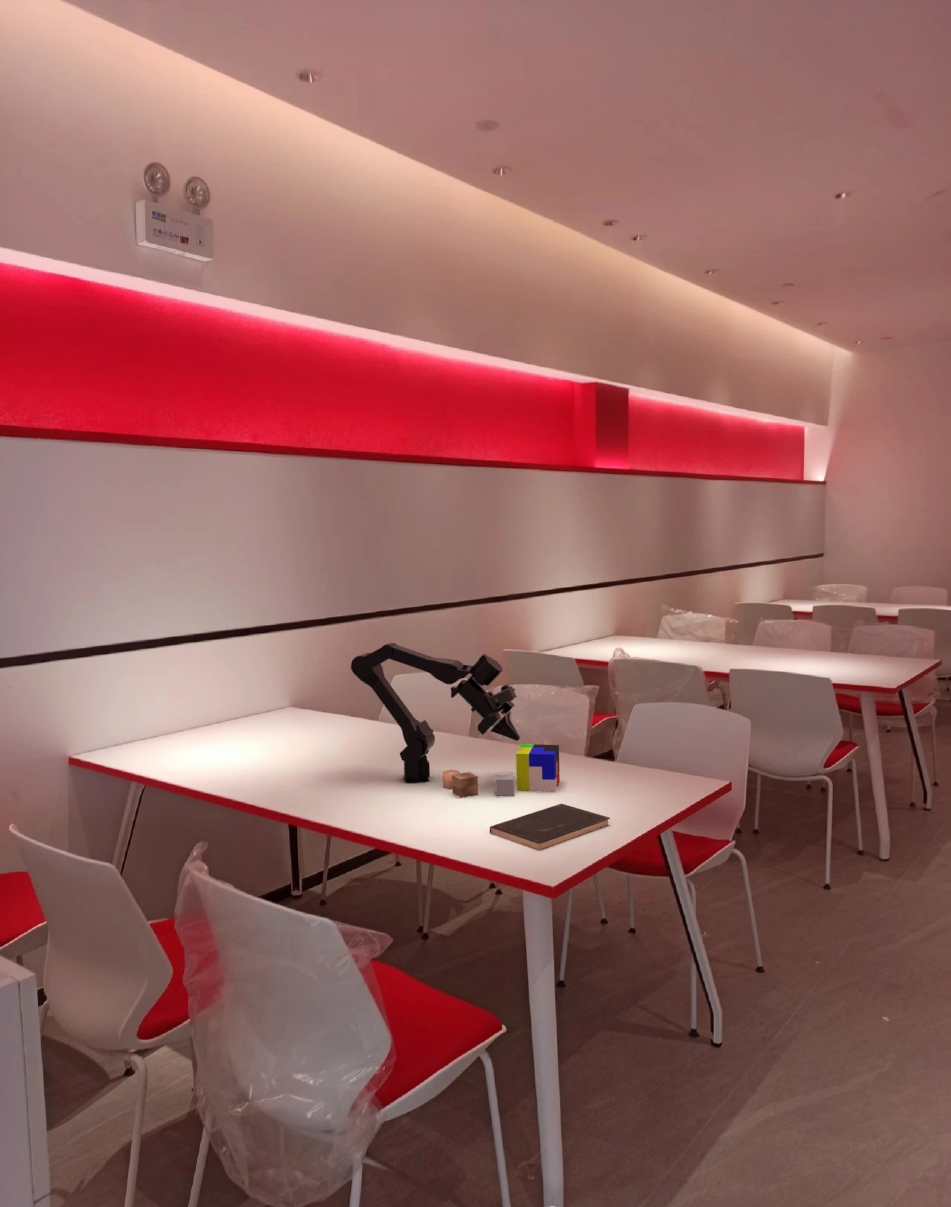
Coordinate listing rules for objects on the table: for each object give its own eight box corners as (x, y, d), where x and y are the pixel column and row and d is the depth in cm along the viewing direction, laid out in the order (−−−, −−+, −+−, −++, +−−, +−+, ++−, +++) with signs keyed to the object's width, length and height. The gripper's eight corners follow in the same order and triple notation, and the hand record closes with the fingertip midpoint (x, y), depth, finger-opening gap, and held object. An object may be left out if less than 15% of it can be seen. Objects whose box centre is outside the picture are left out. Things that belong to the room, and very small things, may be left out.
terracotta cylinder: (444, 789, 249) (444, 775, 249) (442, 785, 253) (441, 770, 253) (461, 788, 250) (460, 773, 249) (458, 784, 254) (458, 769, 254)
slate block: (496, 797, 242) (495, 779, 241) (496, 791, 246) (495, 775, 246) (514, 796, 242) (513, 779, 241) (513, 791, 246) (512, 774, 246)
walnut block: (460, 798, 241) (459, 779, 241) (452, 793, 246) (452, 774, 245) (478, 795, 243) (477, 776, 243) (470, 790, 248) (469, 771, 248)
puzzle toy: (555, 792, 244) (554, 754, 243) (517, 791, 246) (516, 753, 245) (559, 781, 254) (558, 745, 253) (522, 780, 256) (521, 744, 255)
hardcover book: (610, 827, 218) (610, 817, 217) (539, 853, 203) (539, 842, 202) (559, 812, 230) (559, 802, 229) (489, 835, 215) (489, 825, 214)
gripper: (487, 683, 241) (531, 726, 239) (506, 670, 259) (546, 711, 257) (459, 712, 244) (502, 756, 242) (479, 698, 262) (519, 739, 260)
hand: (518, 739), depth 250 cm, fingers closed
